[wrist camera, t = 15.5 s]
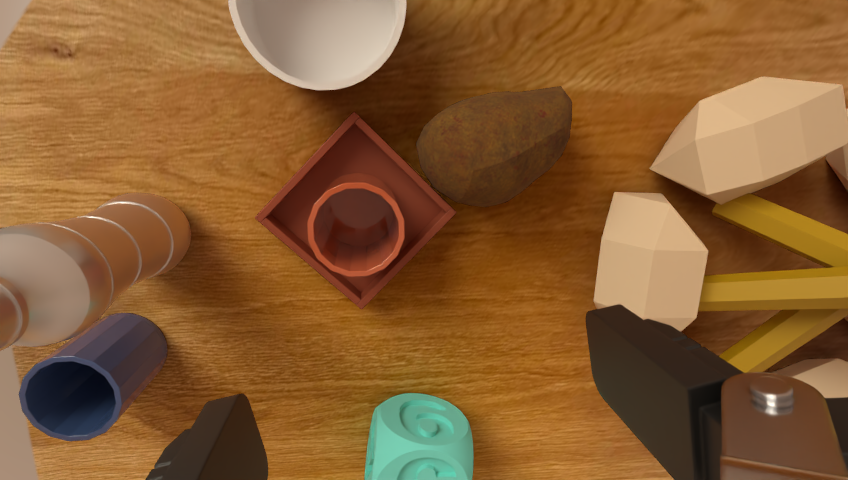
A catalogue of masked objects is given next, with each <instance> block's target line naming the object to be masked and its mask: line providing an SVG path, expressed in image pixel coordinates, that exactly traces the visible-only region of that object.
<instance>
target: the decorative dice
mask: <svg viewBox="0 0 848 480" xmlns="http://www.w3.org/2000/svg"><path fill="white" fill-rule="evenodd" d="M472 476H473V440H472V433H471V428H470V424H469V422H468V420H467V418H466V417H465V416H464V414H463V413H462V412H461V411H460V410H459V409H458V408H457V407H455V406H454V405H452V404H451V403H449V402H447V401H445V400H443V399H440V398H438V397H435V396H431V395H426V394H420V393H406V394H400V395H396V396H393V397H391V398H389V399H387V400H386V401H384V402H383V403H381V404H380V405H378V406H377V407H376V408H375V410H374V413H373V416H372V421H371V426H370V432H369V439H368V446H367V455H366V465H365V477H364V480H472Z"/></svg>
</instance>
